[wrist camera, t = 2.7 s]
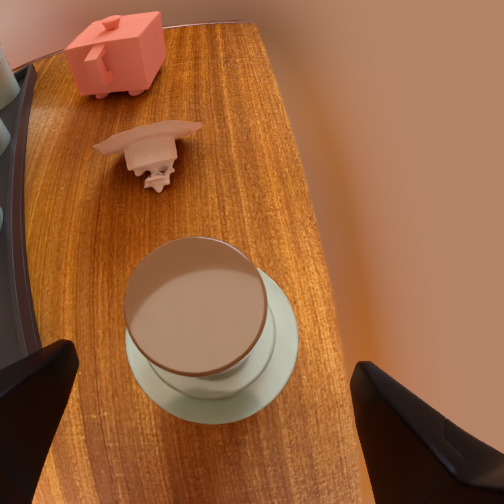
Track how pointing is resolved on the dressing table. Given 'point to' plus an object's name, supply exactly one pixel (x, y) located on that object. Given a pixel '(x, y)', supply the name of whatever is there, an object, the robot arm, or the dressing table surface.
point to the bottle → (208, 331)
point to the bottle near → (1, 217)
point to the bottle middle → (4, 137)
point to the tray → (16, 232)
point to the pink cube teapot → (117, 54)
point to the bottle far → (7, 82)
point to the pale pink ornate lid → (150, 149)
